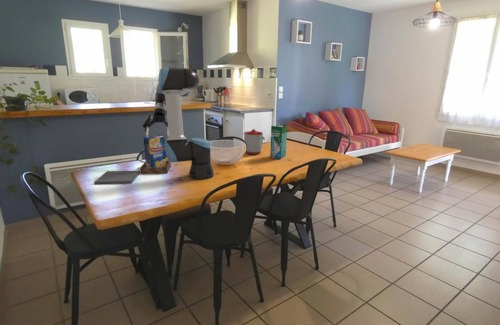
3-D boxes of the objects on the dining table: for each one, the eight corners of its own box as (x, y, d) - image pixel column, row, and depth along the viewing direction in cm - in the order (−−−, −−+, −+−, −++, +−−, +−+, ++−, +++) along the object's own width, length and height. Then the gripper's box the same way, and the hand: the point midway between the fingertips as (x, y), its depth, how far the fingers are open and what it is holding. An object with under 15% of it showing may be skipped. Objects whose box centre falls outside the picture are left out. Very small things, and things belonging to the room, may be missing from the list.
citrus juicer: (265, 155, 235) (265, 130, 229) (243, 155, 235) (243, 130, 230) (264, 151, 250) (265, 127, 244) (243, 150, 250) (244, 127, 245)
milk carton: (285, 157, 232) (287, 125, 225) (280, 159, 225) (282, 126, 218) (275, 155, 237) (276, 124, 230) (270, 157, 230) (271, 125, 223)
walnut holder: (171, 166, 203) (170, 160, 202) (167, 173, 188) (166, 167, 187) (146, 166, 202) (145, 160, 201) (140, 173, 186) (139, 167, 185)
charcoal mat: (140, 172, 188) (139, 170, 188) (131, 183, 169) (131, 181, 168) (107, 173, 186) (106, 171, 185) (94, 184, 167) (94, 181, 166)
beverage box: (166, 169, 197) (164, 136, 191) (151, 172, 189) (149, 138, 183) (160, 167, 201) (158, 135, 195) (146, 170, 193) (143, 137, 187)
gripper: (178, 114, 214) (176, 138, 204) (142, 114, 211) (139, 139, 201) (177, 107, 208) (175, 132, 197) (140, 107, 205) (136, 132, 195)
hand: (157, 135), depth 199 cm, fingers open, 13 cm apart
